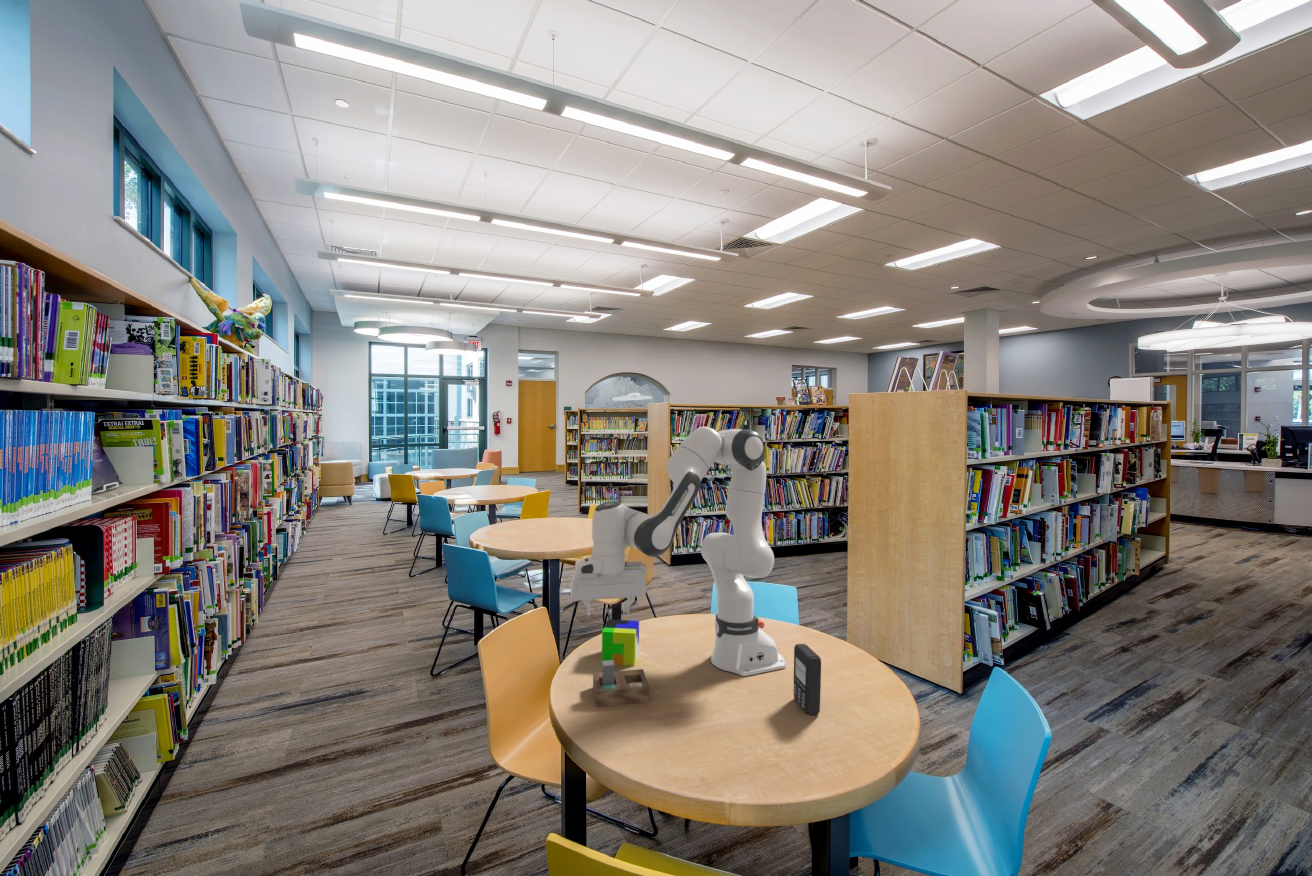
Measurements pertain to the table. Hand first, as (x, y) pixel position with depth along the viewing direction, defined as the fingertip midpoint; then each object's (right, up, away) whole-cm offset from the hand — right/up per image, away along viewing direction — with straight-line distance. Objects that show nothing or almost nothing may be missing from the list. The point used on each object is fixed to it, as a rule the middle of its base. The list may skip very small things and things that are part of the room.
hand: (608, 614), depth 142 cm
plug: (0, -22, +1) cm, 22 cm away
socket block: (+3, -22, +1) cm, 22 cm away
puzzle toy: (+2, -22, +24) cm, 32 cm away
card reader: (+52, -23, -3) cm, 57 cm away
